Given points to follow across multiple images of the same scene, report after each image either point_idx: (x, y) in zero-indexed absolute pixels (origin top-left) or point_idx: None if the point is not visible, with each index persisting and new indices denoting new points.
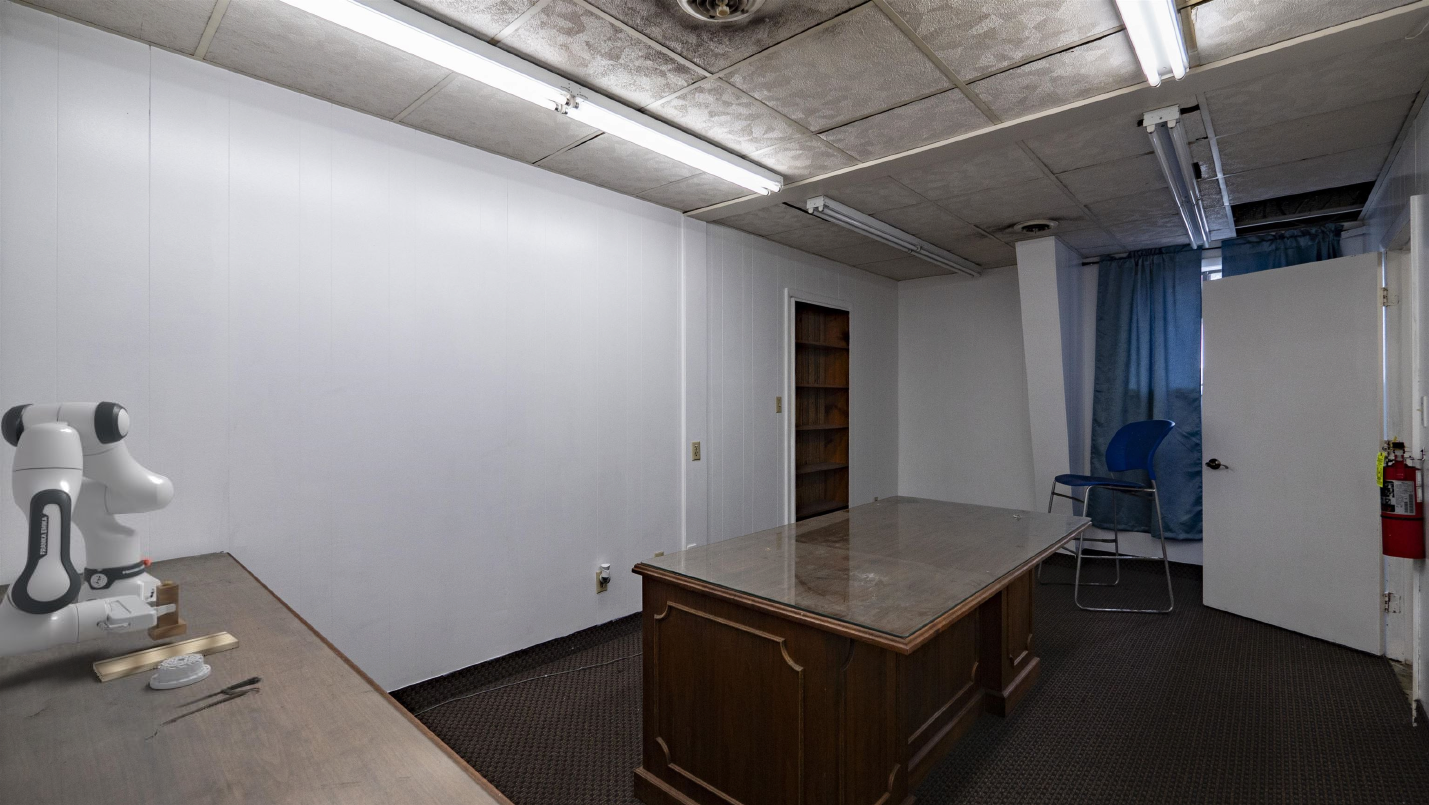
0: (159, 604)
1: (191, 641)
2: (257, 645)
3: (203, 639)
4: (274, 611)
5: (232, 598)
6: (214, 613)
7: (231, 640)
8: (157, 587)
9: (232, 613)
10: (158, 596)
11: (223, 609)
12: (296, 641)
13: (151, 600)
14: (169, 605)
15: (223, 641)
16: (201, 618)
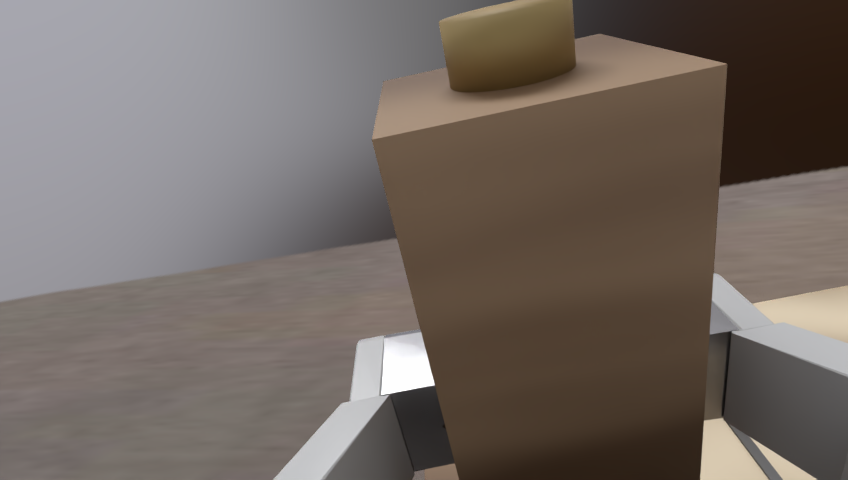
0: (689, 376)
1: (762, 465)
2: (842, 267)
3: None
4: (353, 256)
5: (15, 348)
6: (132, 395)
7: (829, 306)
8: (500, 132)
9: (221, 344)
10: (608, 280)
11: (119, 369)
12: (832, 195)
13: (278, 477)
14: (746, 305)
15: (835, 331)
16: (141, 439)
